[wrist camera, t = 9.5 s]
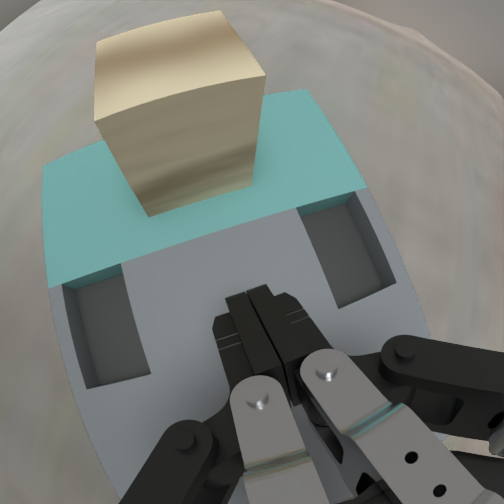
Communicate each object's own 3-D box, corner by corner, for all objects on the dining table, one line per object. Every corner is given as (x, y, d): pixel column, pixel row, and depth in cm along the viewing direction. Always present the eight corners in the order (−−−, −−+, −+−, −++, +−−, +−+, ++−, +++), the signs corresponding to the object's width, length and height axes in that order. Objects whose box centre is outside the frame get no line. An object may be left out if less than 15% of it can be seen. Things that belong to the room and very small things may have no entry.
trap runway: (437, 426, 15) (454, 431, 13) (158, 532, 11) (151, 547, 10) (301, 106, 21) (306, 89, 19) (55, 179, 18) (42, 166, 16)
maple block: (251, 186, 17) (265, 75, 9) (148, 217, 16) (94, 121, 8) (221, 113, 18) (219, 10, 11) (133, 139, 17) (96, 42, 10)
